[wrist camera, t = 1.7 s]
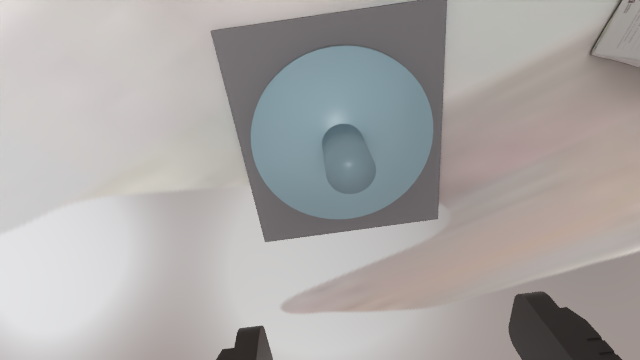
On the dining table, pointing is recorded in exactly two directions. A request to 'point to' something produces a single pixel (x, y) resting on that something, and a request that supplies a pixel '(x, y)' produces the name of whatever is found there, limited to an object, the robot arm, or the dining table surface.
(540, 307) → the robot arm
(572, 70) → the dining table surface
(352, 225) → the mat
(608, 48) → the skincare box
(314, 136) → the lid
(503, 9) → the dining table surface
